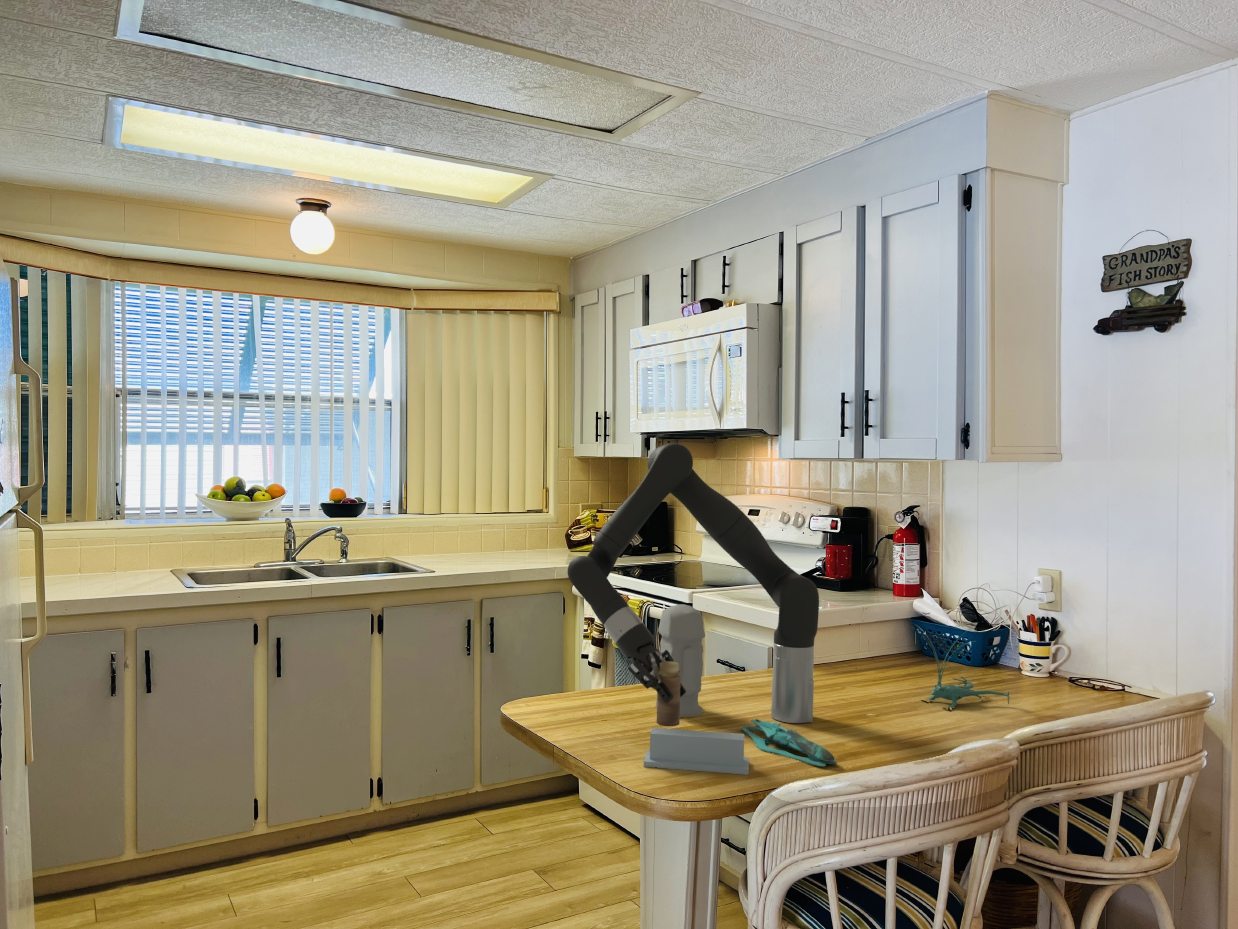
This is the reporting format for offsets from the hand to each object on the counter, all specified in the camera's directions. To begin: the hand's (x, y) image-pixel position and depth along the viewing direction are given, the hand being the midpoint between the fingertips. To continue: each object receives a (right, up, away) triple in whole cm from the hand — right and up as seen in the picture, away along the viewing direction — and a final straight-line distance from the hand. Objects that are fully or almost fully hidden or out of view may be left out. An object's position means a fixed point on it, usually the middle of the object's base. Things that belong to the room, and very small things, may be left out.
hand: (676, 697), depth 190 cm
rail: (+3, -10, -13) cm, 16 cm away
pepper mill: (-2, -6, +1) cm, 6 cm away
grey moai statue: (+2, -10, +25) cm, 27 cm away
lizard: (+71, -12, +37) cm, 81 cm away
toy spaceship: (+23, -11, -1) cm, 25 cm away
